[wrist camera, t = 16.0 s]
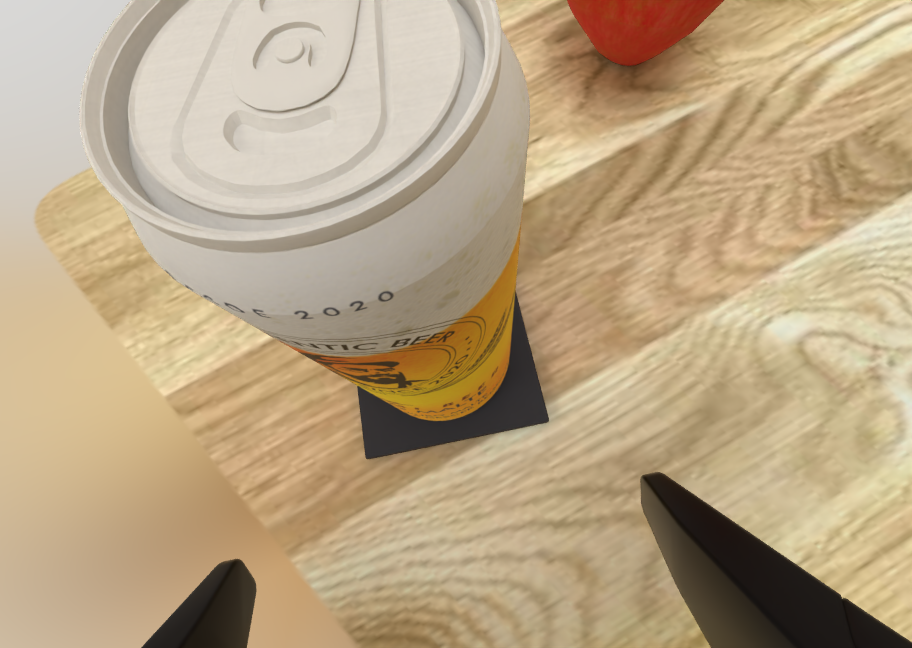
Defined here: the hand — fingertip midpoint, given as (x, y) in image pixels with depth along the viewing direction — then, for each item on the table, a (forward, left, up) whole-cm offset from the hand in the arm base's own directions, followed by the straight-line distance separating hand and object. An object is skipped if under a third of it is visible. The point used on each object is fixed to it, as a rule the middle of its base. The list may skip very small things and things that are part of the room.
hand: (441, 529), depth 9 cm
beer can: (+4, +5, -9) cm, 11 cm away
